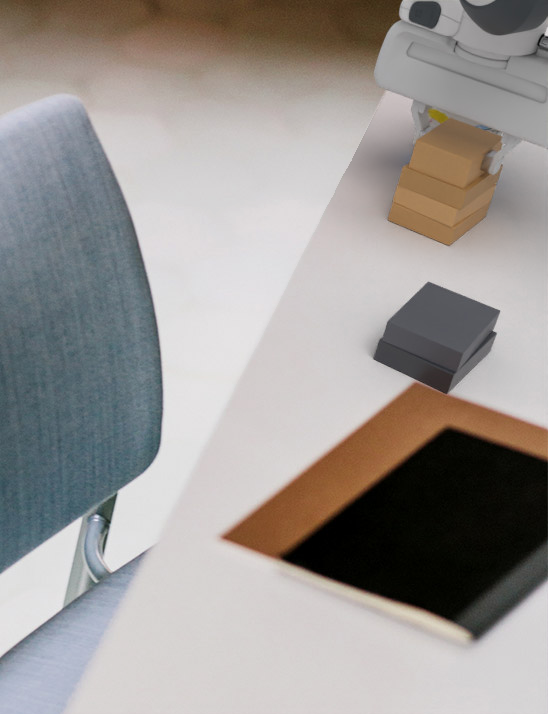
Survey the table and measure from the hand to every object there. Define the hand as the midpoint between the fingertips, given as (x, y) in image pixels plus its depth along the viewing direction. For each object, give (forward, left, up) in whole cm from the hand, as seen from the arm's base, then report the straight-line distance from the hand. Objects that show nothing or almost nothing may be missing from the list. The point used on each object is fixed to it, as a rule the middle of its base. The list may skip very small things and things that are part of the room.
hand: (454, 157), depth 119 cm
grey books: (-11, +24, -7) cm, 27 cm away
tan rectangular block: (0, 0, -1) cm, 1 cm away
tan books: (0, 0, -7) cm, 7 cm away
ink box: (+5, -14, -7) cm, 17 cm away
